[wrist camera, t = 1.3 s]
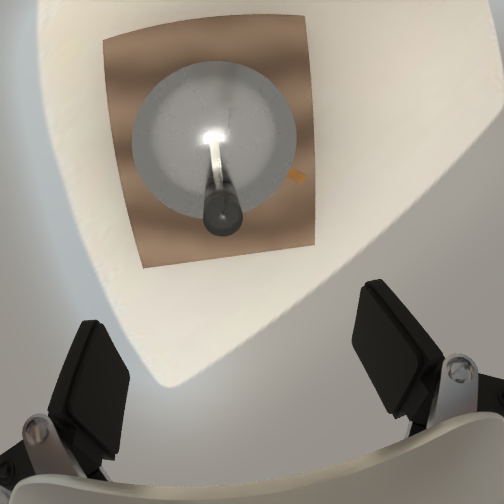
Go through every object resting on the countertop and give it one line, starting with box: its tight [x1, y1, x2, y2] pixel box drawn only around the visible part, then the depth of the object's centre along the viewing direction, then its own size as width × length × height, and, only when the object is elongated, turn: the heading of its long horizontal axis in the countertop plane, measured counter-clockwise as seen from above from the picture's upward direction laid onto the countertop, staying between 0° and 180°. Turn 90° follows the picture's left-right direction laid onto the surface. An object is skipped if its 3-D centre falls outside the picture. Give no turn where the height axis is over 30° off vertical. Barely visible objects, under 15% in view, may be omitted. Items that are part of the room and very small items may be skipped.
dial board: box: [103, 14, 315, 268], centre depth 22 cm, size 22×17×2 cm
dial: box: [132, 61, 297, 237], centre depth 19 cm, size 13×13×6 cm
